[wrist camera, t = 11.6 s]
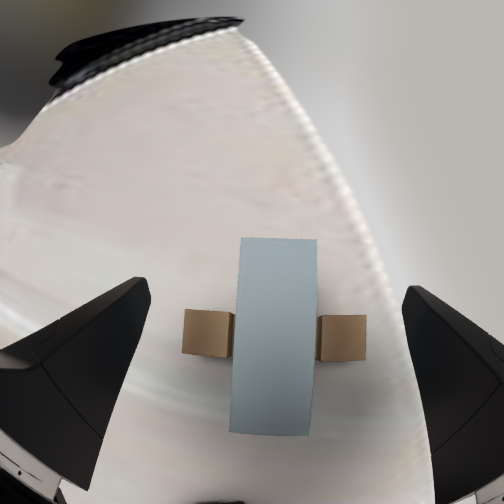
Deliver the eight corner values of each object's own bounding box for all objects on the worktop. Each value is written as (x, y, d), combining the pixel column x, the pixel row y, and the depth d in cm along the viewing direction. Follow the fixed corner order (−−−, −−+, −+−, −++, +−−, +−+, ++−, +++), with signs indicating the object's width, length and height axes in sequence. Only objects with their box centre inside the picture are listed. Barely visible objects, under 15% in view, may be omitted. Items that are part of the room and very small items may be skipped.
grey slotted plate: (294, 393, 20) (308, 435, 11) (249, 391, 20) (229, 431, 11) (299, 280, 23) (316, 239, 13) (255, 279, 23) (240, 237, 13)
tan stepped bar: (351, 318, 21) (366, 315, 18) (350, 356, 21) (365, 360, 17) (200, 313, 22) (185, 308, 19) (197, 350, 22) (182, 353, 18)
